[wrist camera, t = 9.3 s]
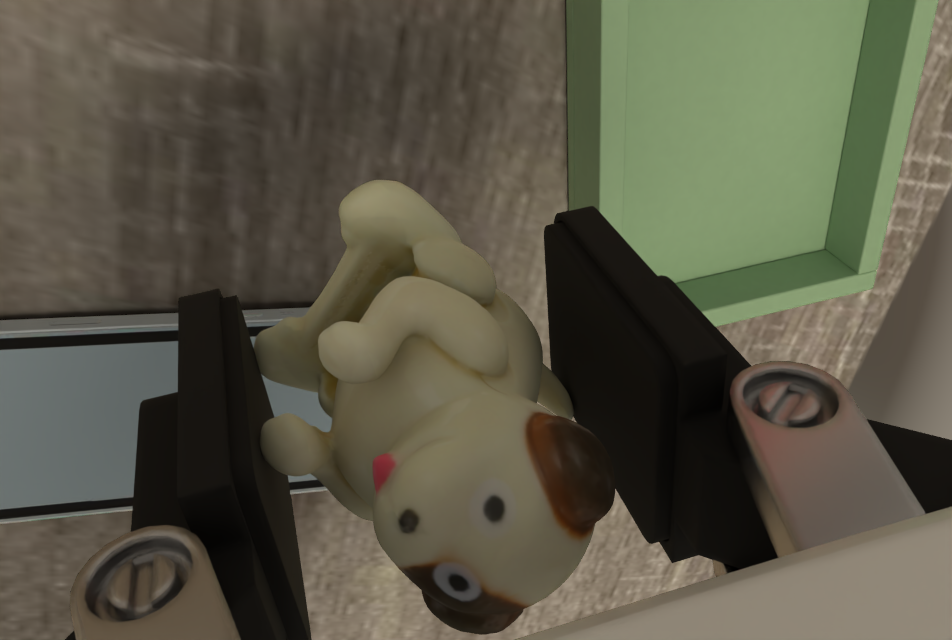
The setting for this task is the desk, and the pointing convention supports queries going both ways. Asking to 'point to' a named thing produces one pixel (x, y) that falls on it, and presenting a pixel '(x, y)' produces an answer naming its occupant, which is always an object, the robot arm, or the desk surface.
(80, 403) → the smartphone
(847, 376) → the desk surface
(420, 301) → the toy dog
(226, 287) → the desk surface
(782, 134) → the tray
